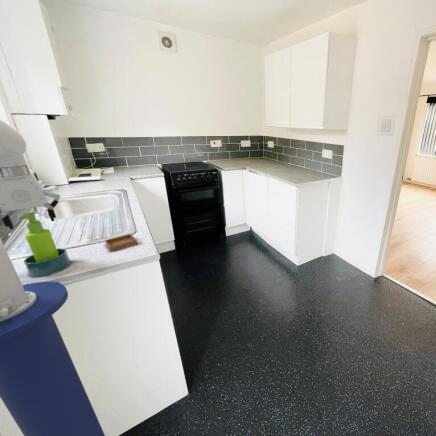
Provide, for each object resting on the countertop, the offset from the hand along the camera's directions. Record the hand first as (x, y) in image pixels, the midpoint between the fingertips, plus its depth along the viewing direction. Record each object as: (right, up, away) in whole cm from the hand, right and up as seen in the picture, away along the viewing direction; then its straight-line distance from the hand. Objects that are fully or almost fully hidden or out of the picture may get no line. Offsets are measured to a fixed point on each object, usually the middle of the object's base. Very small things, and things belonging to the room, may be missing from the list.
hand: (33, 224), depth 81 cm
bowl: (0, -16, +6) cm, 17 cm away
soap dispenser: (0, -15, +6) cm, 16 cm away
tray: (+13, -9, +23) cm, 28 cm away
